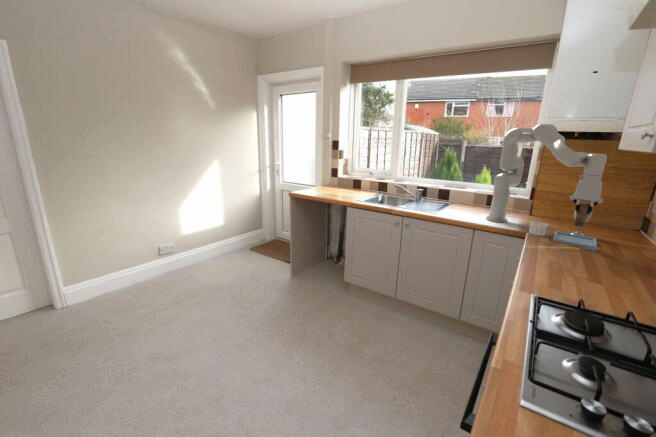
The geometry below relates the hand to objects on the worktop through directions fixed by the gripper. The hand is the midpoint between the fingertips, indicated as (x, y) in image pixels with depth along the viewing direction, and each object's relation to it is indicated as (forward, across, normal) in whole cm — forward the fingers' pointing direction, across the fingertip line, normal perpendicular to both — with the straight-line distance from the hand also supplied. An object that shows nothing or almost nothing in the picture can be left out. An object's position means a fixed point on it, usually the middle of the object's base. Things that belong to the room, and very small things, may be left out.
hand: (582, 212), depth 160 cm
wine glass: (+17, +1, +21) cm, 27 cm away
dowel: (+7, 0, 0) cm, 7 cm away
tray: (+17, 0, 0) cm, 17 cm away
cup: (+17, -17, 0) cm, 24 cm away
